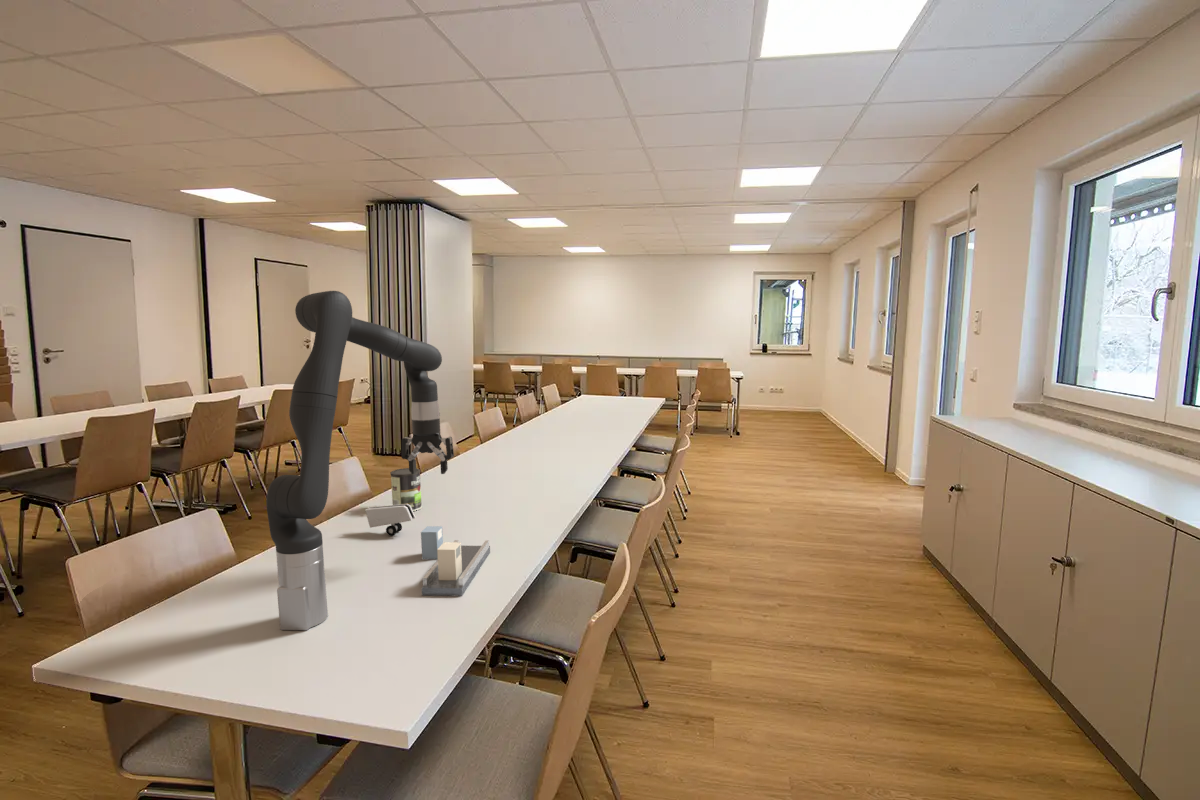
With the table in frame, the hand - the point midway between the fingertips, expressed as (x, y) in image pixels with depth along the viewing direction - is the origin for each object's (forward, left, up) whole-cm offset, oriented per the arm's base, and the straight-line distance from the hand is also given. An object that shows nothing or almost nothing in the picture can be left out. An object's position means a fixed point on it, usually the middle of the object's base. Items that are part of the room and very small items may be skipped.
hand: (428, 473), depth 164 cm
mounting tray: (-11, -11, -24) cm, 29 cm away
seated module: (-18, -11, -22) cm, 31 cm away
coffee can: (+44, +25, -25) cm, 56 cm away
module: (0, 0, -24) cm, 24 cm away
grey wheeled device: (+18, +27, -21) cm, 39 cm away
